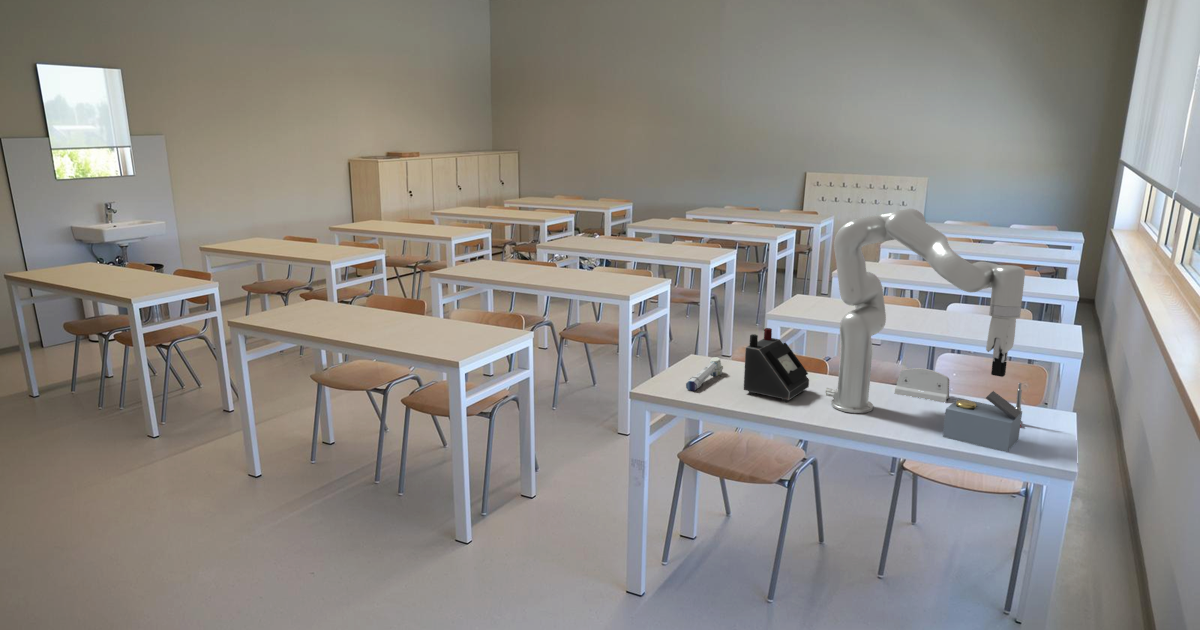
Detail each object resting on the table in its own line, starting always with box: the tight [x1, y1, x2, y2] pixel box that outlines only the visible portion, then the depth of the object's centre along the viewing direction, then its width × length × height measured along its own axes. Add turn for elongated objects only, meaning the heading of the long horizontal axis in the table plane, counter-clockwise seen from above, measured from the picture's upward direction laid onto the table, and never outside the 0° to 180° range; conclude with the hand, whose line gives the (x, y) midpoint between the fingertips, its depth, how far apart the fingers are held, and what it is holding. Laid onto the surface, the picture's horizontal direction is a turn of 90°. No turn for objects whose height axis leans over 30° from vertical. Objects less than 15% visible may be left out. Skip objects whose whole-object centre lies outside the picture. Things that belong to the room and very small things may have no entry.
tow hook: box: [1014, 382, 1023, 428], centre depth 232 cm, size 8×13×9 cm
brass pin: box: [956, 399, 976, 410], centre depth 222 cm, size 5×5×10 cm
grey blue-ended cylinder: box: [685, 356, 724, 392], centre depth 271 cm, size 5×7×25 cm
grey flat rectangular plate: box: [985, 390, 1022, 420], centre depth 215 cm, size 9×6×1 cm, turn 50°
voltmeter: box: [743, 327, 810, 403], centre depth 257 cm, size 16×16×20 cm
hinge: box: [894, 367, 950, 404], centre depth 256 cm, size 17×5×10 cm, turn 57°
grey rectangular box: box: [942, 398, 1023, 453], centre depth 220 cm, size 17×12×8 cm
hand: (998, 375), depth 214 cm, fingers closed
